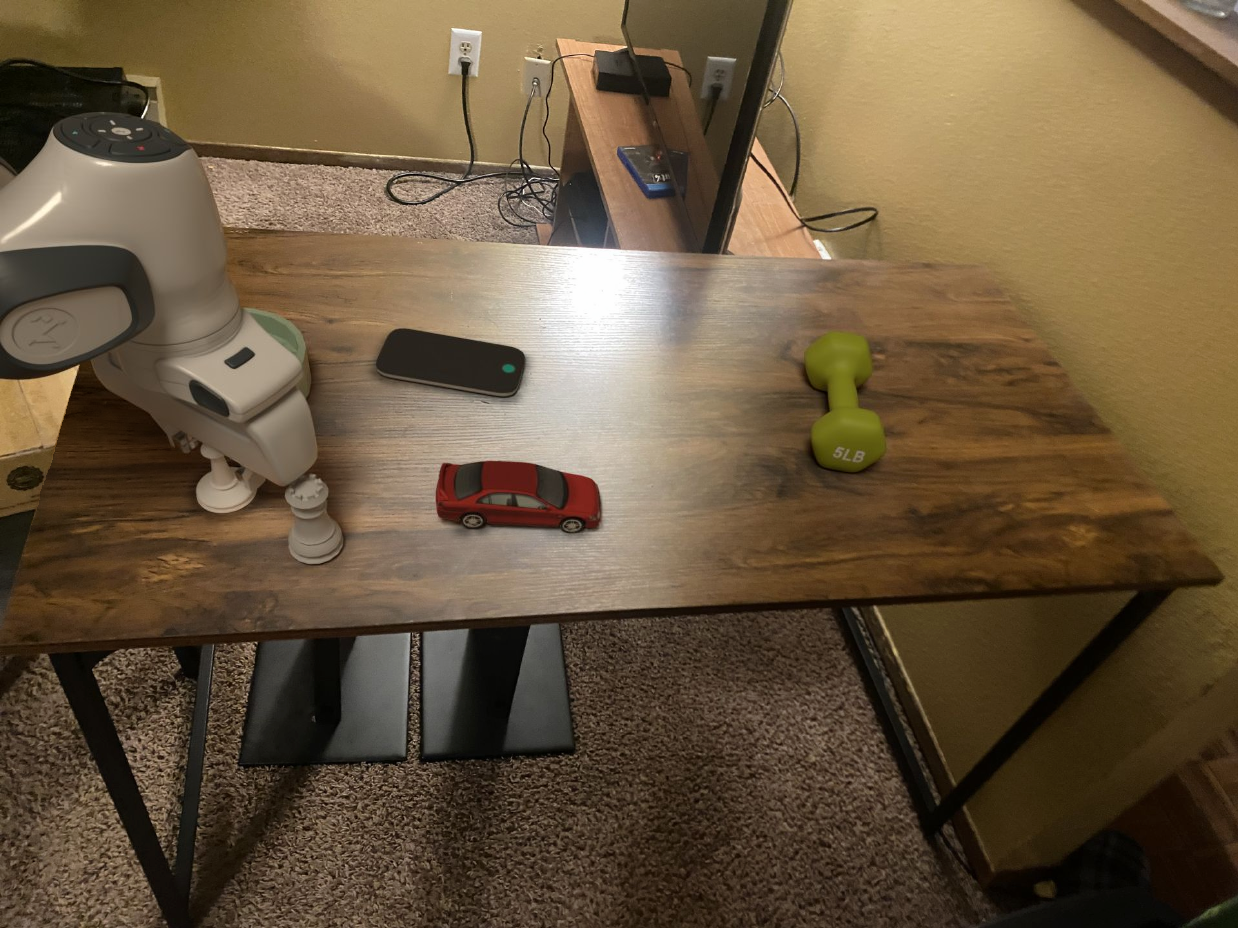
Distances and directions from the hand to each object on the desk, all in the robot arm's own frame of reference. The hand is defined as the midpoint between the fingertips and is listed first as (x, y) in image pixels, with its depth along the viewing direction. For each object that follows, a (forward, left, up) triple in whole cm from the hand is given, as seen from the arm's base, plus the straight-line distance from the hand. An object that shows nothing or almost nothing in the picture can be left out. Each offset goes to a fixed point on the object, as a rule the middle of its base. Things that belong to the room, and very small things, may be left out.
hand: (219, 464), depth 71 cm
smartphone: (+24, +11, -4) cm, 27 cm away
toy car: (+24, -10, -4) cm, 26 cm away
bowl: (+3, +13, -4) cm, 14 cm away
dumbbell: (+61, -9, -4) cm, 62 cm away
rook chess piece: (+6, -8, -4) cm, 11 cm away
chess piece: (0, 0, -4) cm, 4 cm away
